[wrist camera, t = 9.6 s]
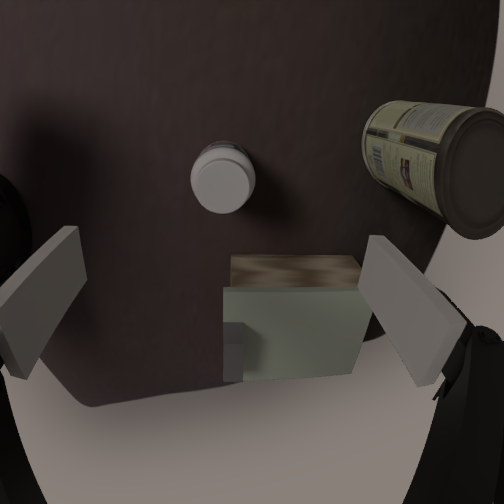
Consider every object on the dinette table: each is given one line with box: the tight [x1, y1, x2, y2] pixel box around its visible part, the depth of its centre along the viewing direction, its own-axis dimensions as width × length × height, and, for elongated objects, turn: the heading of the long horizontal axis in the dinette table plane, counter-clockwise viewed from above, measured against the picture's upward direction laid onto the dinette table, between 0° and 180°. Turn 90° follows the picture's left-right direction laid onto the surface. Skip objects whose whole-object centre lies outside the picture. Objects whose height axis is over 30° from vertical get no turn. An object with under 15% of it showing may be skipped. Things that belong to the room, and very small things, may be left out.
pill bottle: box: [191, 141, 255, 214], centre depth 26 cm, size 5×5×9 cm
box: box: [230, 254, 362, 287], centre depth 34 cm, size 14×11×7 cm
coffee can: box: [361, 101, 504, 240], centre depth 24 cm, size 10×10×14 cm
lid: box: [223, 286, 373, 382], centre depth 29 cm, size 15×12×4 cm
